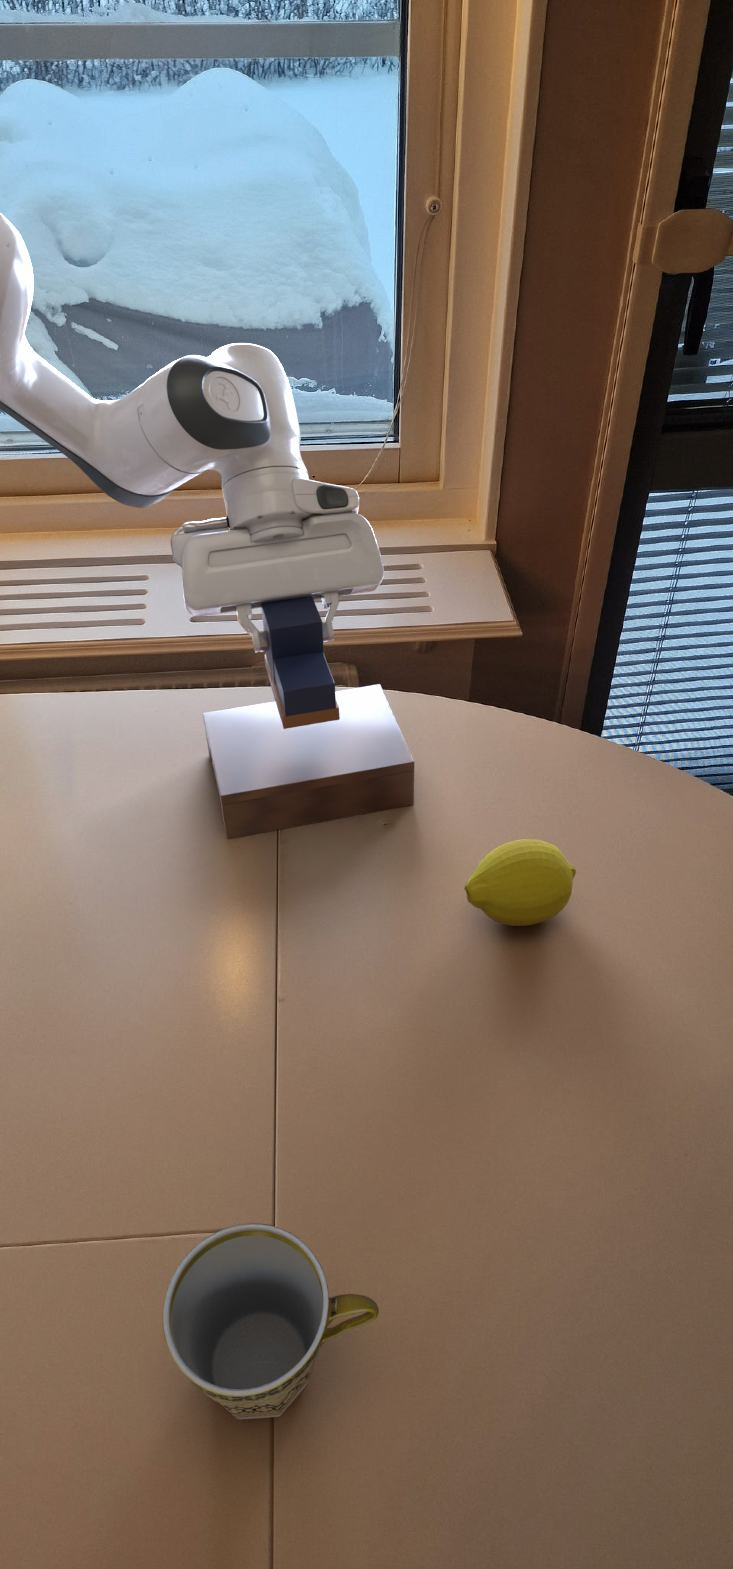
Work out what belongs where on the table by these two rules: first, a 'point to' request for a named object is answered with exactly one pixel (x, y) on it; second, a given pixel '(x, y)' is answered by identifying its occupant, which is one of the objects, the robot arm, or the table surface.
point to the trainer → (298, 663)
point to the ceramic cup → (253, 1317)
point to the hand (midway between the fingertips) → (295, 645)
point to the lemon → (521, 882)
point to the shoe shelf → (308, 764)
